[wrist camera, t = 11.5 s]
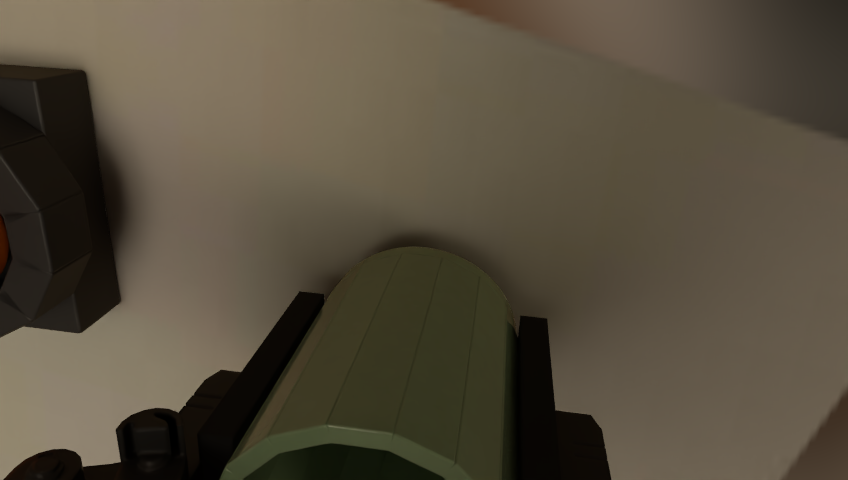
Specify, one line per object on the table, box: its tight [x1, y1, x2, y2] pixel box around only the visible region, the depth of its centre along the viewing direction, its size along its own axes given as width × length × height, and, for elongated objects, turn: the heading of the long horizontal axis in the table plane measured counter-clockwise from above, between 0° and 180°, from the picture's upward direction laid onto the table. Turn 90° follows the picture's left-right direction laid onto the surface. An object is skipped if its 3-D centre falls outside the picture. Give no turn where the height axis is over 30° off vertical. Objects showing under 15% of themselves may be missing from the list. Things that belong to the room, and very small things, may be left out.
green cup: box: [219, 247, 518, 480], centre depth 15 cm, size 6×6×8 cm
